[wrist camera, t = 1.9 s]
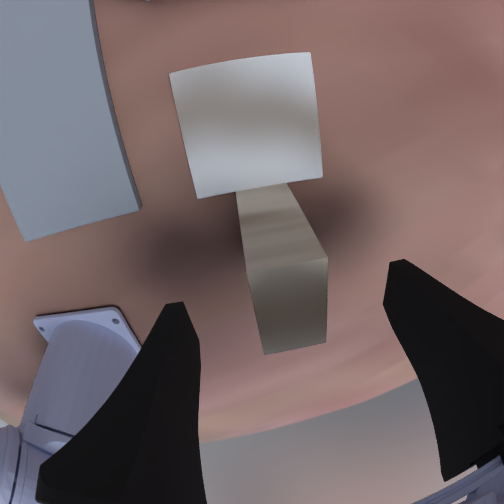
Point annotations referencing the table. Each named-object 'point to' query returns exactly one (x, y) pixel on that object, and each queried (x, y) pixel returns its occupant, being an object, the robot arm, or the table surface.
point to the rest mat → (58, 120)
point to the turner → (262, 181)
